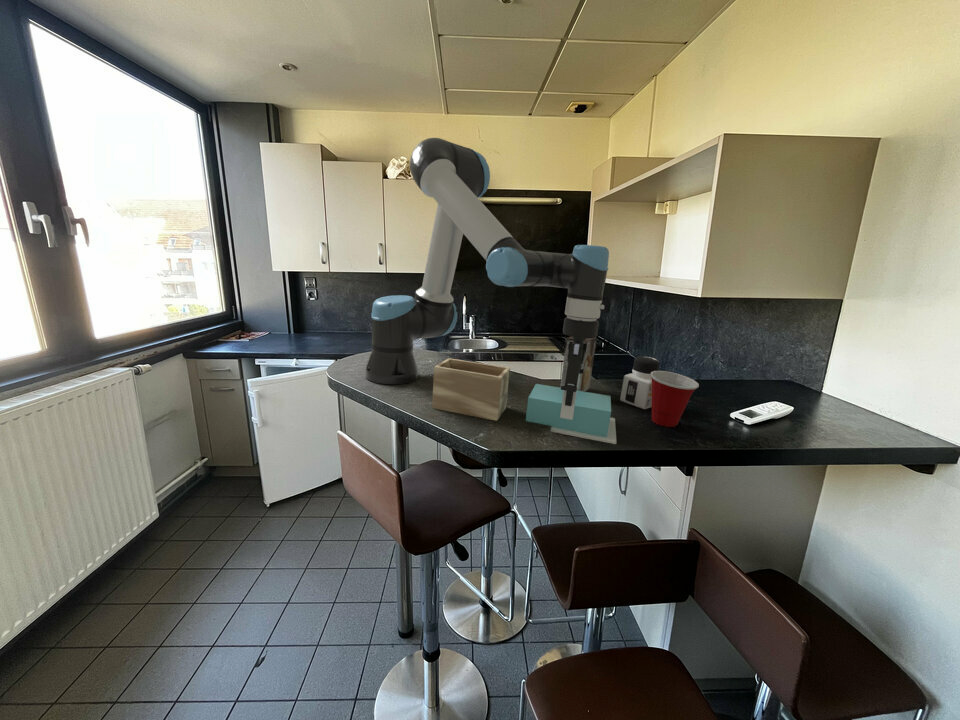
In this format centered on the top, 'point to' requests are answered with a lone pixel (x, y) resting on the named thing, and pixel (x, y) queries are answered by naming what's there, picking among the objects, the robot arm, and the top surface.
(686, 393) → the plastic cup
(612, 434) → the mat
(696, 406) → the top surface
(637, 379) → the container
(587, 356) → the coffee box
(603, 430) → the lid
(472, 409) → the box
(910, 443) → the top surface
